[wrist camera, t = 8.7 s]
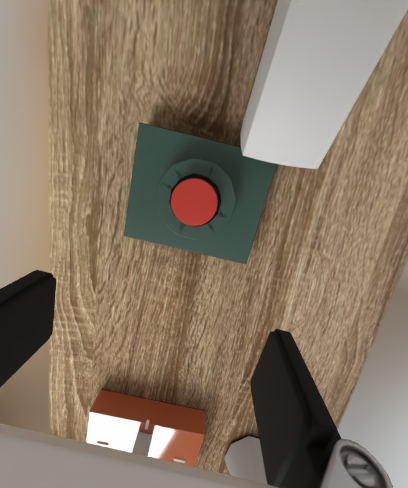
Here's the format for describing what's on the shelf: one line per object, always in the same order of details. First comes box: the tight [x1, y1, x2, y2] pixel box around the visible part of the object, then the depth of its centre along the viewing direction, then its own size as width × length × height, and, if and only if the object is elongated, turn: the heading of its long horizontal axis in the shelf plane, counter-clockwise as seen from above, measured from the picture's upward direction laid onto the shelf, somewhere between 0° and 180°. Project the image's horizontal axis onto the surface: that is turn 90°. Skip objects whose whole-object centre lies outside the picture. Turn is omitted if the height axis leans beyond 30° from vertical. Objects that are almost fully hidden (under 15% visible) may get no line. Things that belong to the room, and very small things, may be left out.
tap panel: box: [86, 389, 205, 467], centre depth 31 cm, size 14×11×3 cm
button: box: [171, 178, 218, 226], centre depth 19 cm, size 4×4×2 cm
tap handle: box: [132, 432, 152, 456], centre depth 27 cm, size 7×2×5 cm, turn 167°
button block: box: [124, 123, 277, 264], centre depth 21 cm, size 12×10×4 cm
